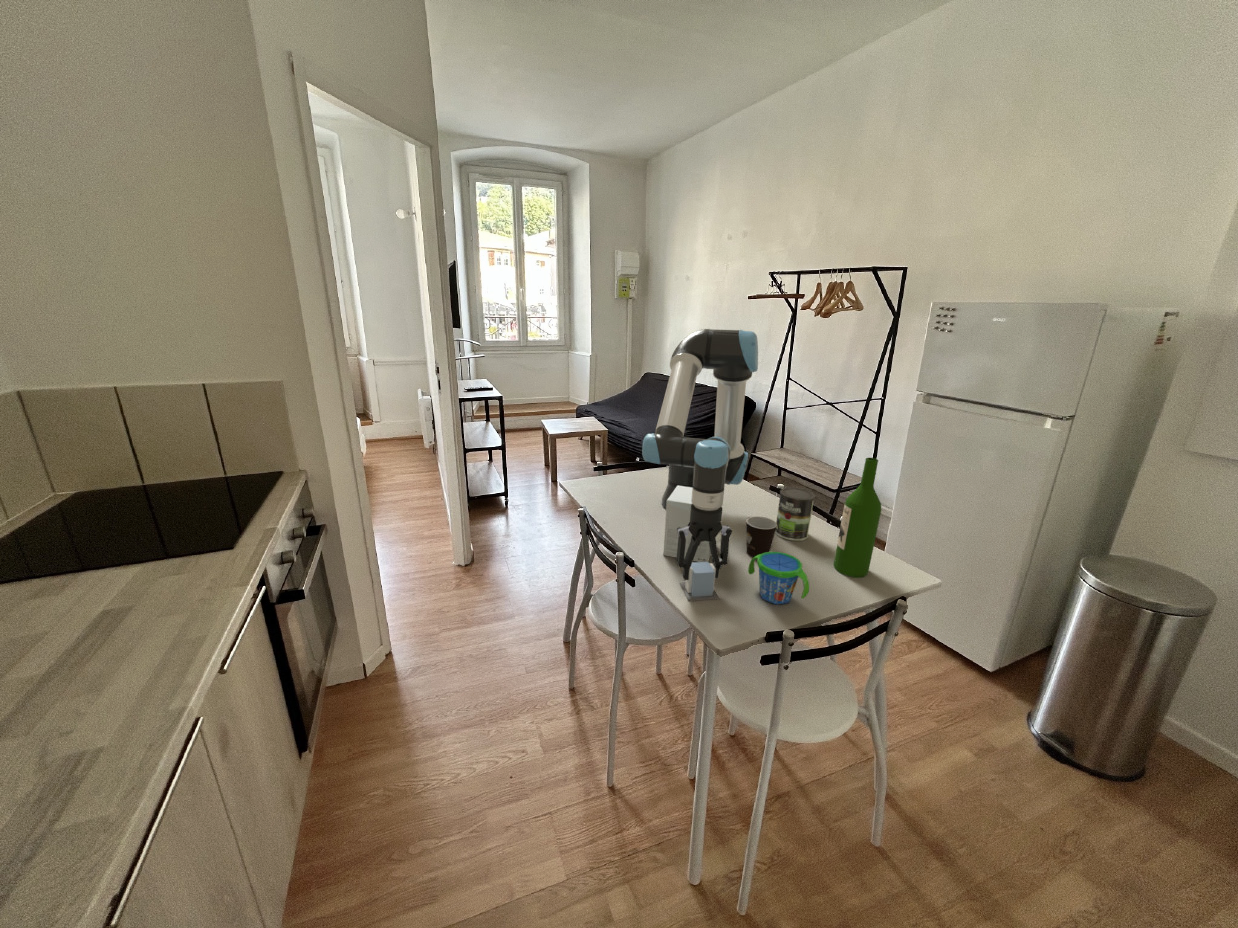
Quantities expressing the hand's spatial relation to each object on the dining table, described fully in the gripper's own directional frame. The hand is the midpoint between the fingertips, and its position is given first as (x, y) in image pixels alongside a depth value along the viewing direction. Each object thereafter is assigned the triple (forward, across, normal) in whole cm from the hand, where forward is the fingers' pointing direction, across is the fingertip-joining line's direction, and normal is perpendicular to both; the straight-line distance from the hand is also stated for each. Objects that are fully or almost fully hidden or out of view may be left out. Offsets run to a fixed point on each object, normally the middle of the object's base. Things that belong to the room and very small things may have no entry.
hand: (699, 589), depth 125 cm
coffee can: (+1, +40, +29) cm, 49 cm away
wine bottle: (+1, +46, +6) cm, 46 cm away
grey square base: (+1, 0, 0) cm, 1 cm away
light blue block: (0, 0, 0) cm, 0 cm away
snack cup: (+1, +18, -4) cm, 19 cm away
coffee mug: (+1, +24, +19) cm, 31 cm away
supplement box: (+1, +4, +22) cm, 22 cm away
